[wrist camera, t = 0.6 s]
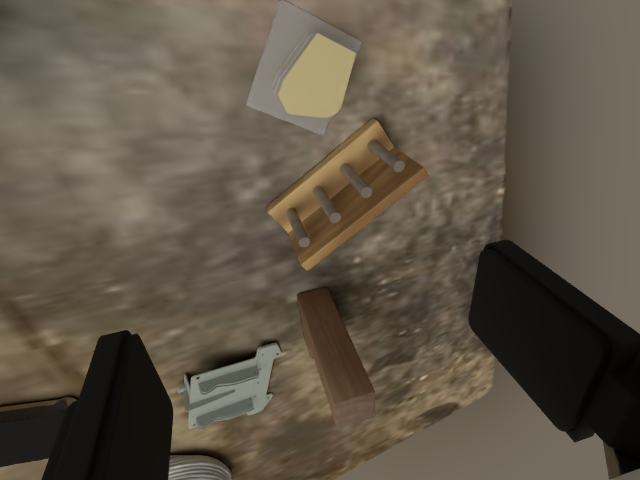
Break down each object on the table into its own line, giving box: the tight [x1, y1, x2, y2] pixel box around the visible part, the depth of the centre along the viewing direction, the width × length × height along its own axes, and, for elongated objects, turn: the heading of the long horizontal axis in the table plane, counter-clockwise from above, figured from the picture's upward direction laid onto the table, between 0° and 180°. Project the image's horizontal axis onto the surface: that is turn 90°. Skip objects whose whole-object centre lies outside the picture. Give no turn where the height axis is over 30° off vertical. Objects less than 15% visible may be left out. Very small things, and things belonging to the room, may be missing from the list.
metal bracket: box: [178, 343, 281, 430], centre depth 56 cm, size 14×6×15 cm
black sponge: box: [0, 397, 77, 467], centre depth 49 cm, size 16×8×4 cm, turn 82°
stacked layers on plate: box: [246, 0, 363, 136], centre depth 35 cm, size 10×9×6 cm
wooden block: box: [297, 287, 375, 427], centre depth 47 cm, size 9×4×18 cm, turn 6°
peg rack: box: [266, 118, 429, 271], centre depth 41 cm, size 5×16×8 cm, turn 127°
